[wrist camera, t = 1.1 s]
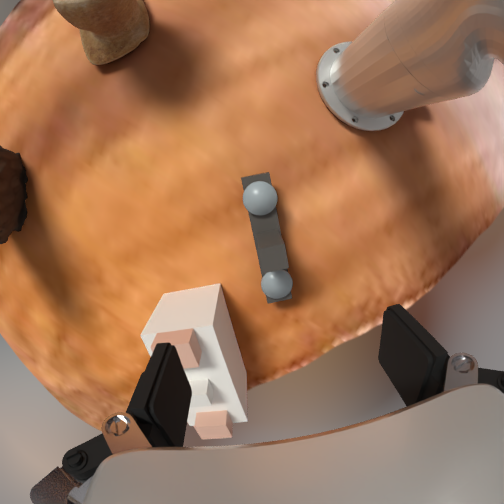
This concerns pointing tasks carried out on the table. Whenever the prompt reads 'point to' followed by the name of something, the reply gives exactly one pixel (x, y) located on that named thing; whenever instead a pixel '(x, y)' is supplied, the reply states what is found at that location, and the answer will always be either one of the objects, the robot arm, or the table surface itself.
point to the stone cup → (107, 26)
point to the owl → (11, 193)
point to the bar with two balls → (267, 236)
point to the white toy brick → (203, 356)
